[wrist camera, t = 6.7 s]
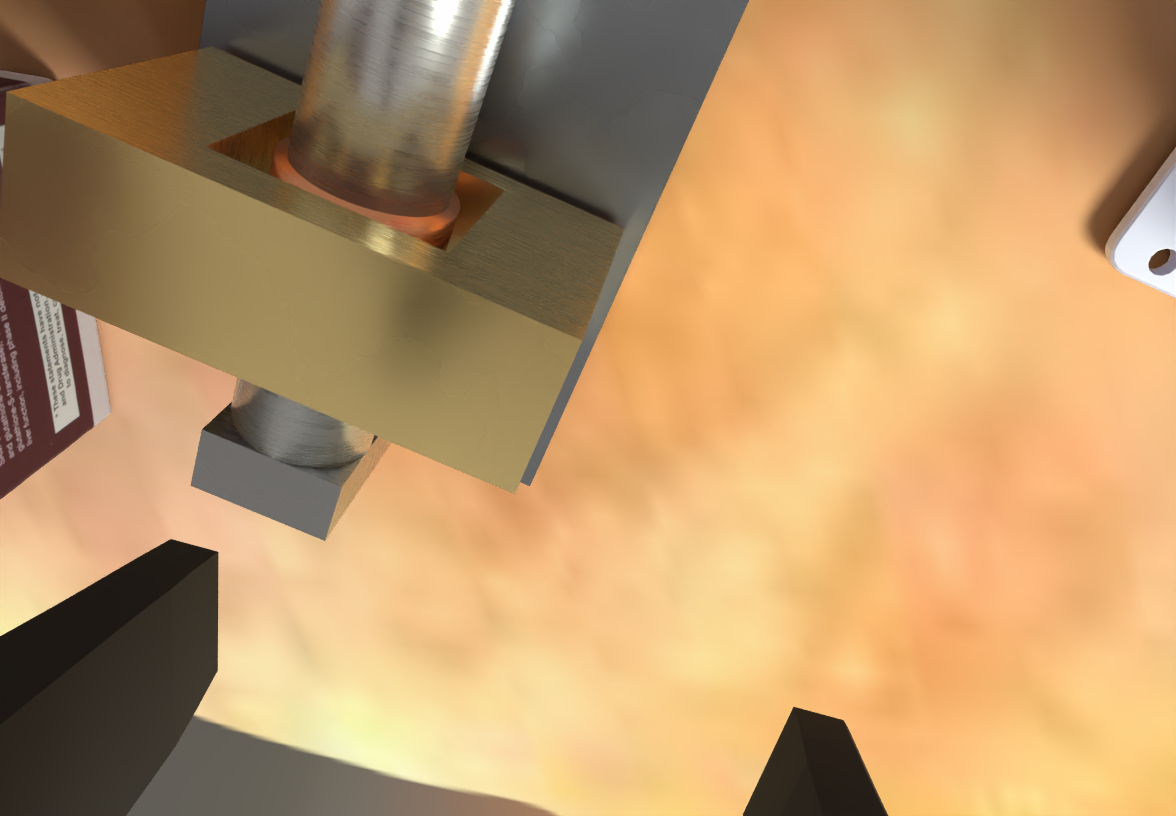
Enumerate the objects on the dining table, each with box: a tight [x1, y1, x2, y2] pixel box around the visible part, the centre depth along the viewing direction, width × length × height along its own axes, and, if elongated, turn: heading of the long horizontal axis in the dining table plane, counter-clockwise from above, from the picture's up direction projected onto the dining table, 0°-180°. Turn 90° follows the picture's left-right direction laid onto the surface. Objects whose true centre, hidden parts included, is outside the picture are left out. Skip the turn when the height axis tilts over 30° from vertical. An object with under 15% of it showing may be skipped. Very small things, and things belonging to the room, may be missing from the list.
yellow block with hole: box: [0, 46, 624, 494], centre depth 16 cm, size 3×9×6 cm, turn 68°
